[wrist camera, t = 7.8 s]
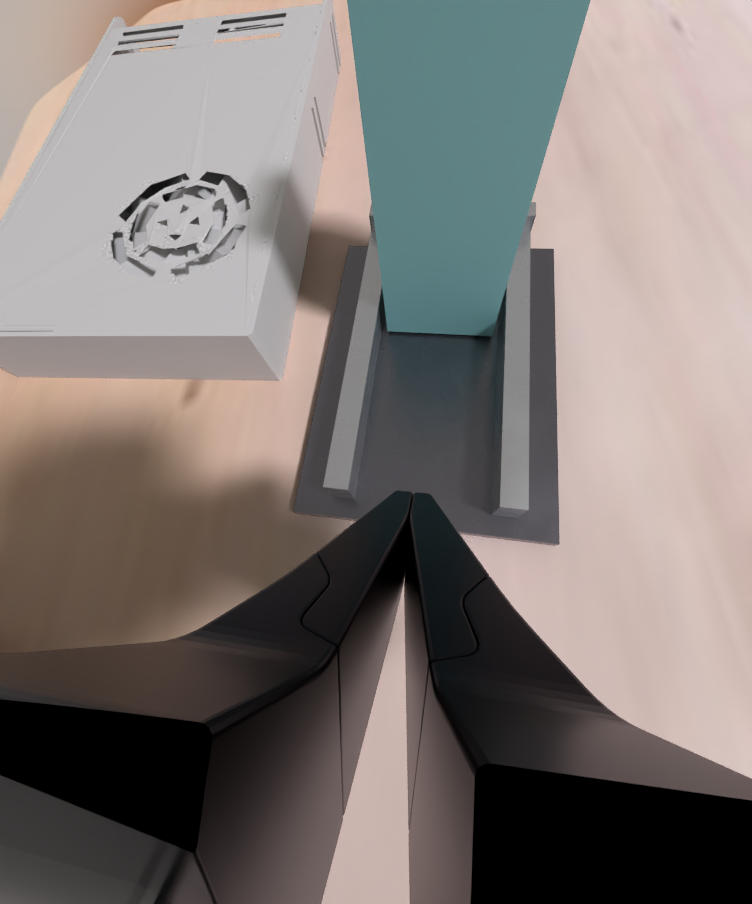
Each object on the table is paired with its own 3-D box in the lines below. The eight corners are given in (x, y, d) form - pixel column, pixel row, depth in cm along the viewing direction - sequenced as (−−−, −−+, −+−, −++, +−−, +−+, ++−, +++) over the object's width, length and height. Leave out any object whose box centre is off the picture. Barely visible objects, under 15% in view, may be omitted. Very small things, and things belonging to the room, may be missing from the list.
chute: (554, 545, 18) (586, 536, 15) (296, 513, 20) (271, 498, 16) (550, 256, 24) (572, 202, 20) (350, 253, 26) (340, 203, 22)
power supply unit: (343, 67, 34) (331, -15, 29) (286, 386, 23) (252, 335, 19) (154, 86, 37) (115, 12, 32) (23, 381, 26) (-65, 336, 21)
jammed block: (491, 336, 21) (609, -65, 8) (387, 331, 22) (342, -39, 9) (494, 267, 23) (597, -160, 10) (397, 265, 24) (371, -130, 11)
